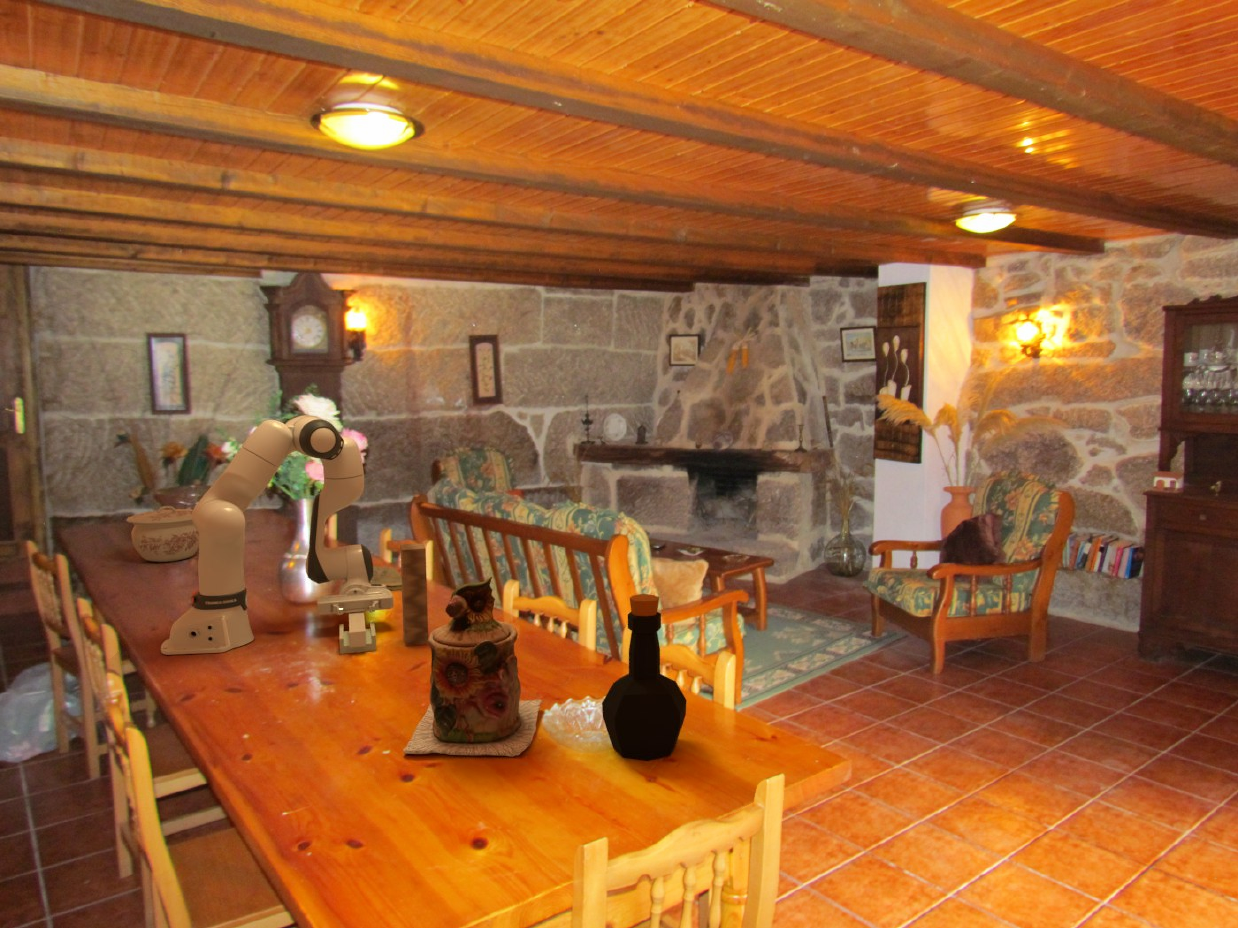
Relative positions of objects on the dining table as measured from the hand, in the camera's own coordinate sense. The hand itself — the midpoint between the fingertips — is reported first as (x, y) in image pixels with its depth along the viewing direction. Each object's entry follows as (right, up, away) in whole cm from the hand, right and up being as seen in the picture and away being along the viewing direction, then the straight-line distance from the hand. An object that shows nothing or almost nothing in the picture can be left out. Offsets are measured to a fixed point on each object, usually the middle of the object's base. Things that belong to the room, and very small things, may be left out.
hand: (356, 610), depth 234 cm
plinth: (+16, -8, -1) cm, 18 cm away
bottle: (+76, -16, -66) cm, 102 cm away
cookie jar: (+42, -15, -58) cm, 73 cm away
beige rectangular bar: (+1, -6, -2) cm, 7 cm away
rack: (+1, -9, -3) cm, 9 cm away
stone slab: (-10, -1, +64) cm, 65 cm away
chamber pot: (-102, +3, +100) cm, 143 cm away
